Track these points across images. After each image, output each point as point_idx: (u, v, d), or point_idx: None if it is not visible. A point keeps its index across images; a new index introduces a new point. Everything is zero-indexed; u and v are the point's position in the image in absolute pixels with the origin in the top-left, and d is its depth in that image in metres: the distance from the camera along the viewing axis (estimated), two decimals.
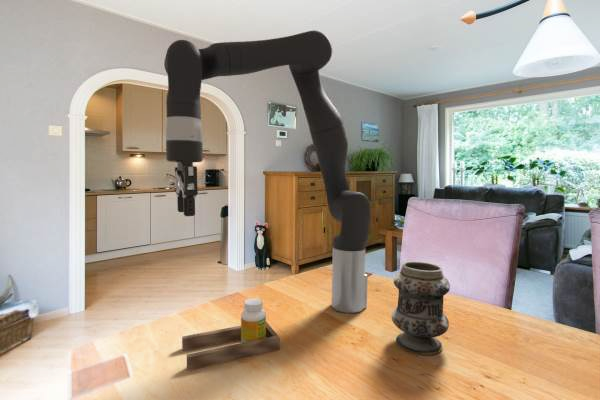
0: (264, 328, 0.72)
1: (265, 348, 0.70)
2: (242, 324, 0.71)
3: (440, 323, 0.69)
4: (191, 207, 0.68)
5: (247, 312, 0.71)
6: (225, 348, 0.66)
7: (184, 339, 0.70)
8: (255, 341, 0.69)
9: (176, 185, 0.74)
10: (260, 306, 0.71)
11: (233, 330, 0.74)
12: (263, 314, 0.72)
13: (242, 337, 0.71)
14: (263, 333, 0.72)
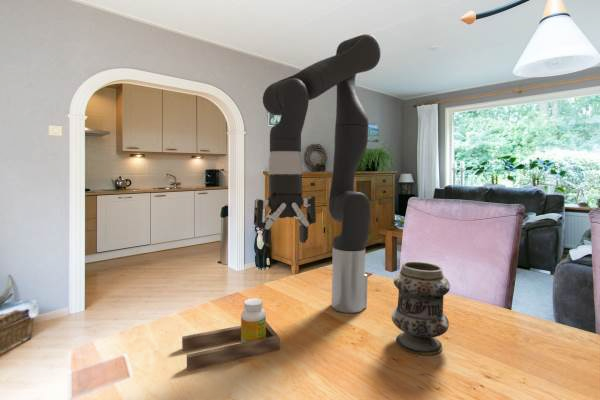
0: (264, 328, 0.72)
1: (265, 348, 0.70)
2: (242, 324, 0.71)
3: (440, 323, 0.69)
4: None
5: (247, 312, 0.71)
6: (225, 348, 0.66)
7: (184, 339, 0.70)
8: (255, 341, 0.69)
9: None
10: (260, 306, 0.71)
11: (233, 330, 0.74)
12: (263, 314, 0.72)
13: (242, 337, 0.71)
14: (263, 333, 0.72)
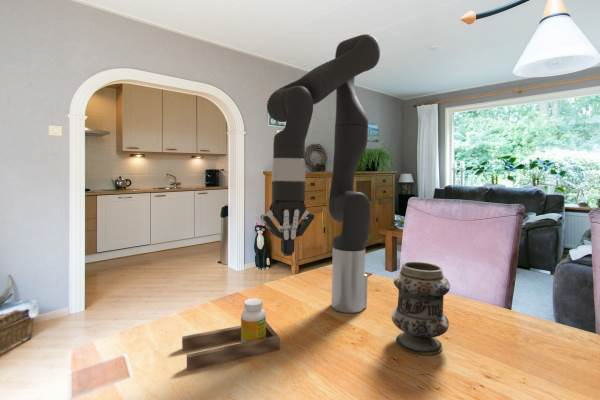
0: (264, 328, 0.72)
1: (265, 348, 0.70)
2: (242, 324, 0.71)
3: (440, 323, 0.69)
4: None
5: (247, 312, 0.71)
6: (225, 348, 0.66)
7: (184, 339, 0.70)
8: (255, 341, 0.69)
9: None
10: (260, 306, 0.71)
11: (233, 330, 0.74)
12: (263, 314, 0.72)
13: (242, 337, 0.71)
14: (263, 333, 0.72)
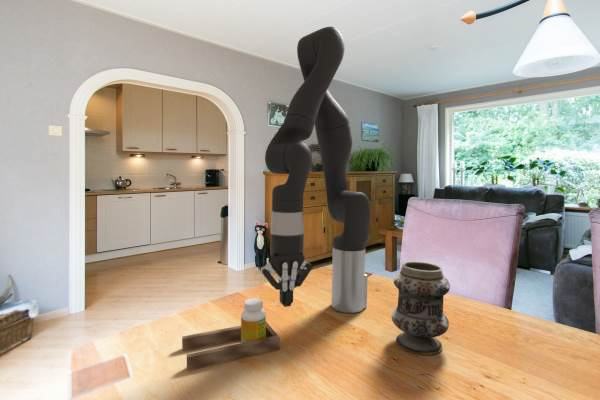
0: (264, 328, 0.72)
1: (265, 348, 0.70)
2: (242, 324, 0.71)
3: (440, 323, 0.69)
4: None
5: (247, 312, 0.71)
6: (225, 348, 0.66)
7: (184, 339, 0.70)
8: (255, 341, 0.69)
9: None
10: (260, 306, 0.71)
11: (233, 330, 0.74)
12: (263, 314, 0.72)
13: (242, 337, 0.71)
14: (263, 333, 0.72)
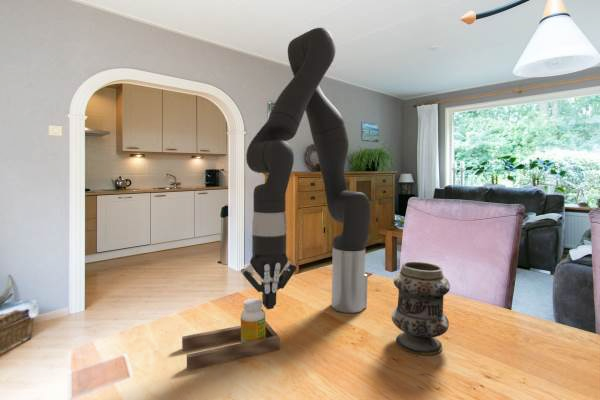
0: (264, 328, 0.72)
1: (265, 348, 0.70)
2: (242, 324, 0.71)
3: (440, 323, 0.69)
4: None
5: (246, 312, 0.71)
6: (225, 348, 0.66)
7: (184, 339, 0.70)
8: (255, 341, 0.69)
9: (269, 279, 0.72)
10: (259, 306, 0.71)
11: (233, 330, 0.74)
12: (263, 314, 0.72)
13: (242, 337, 0.71)
14: (262, 333, 0.72)
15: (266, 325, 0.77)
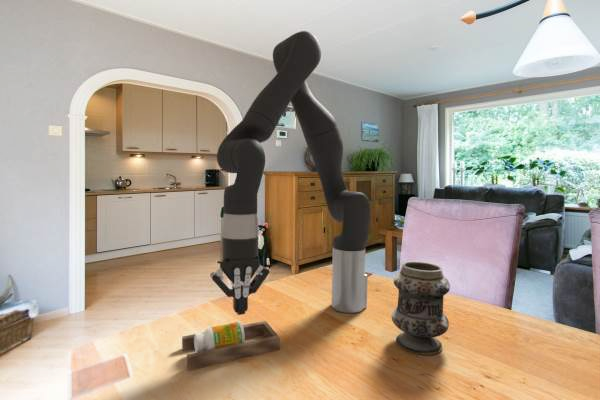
0: (225, 332, 0.68)
1: (265, 348, 0.70)
2: None
3: (440, 323, 0.69)
4: None
5: None
6: (225, 348, 0.66)
7: (184, 339, 0.70)
8: (255, 341, 0.69)
9: None
10: (200, 341, 0.66)
11: None
12: (209, 336, 0.67)
13: None
14: (229, 334, 0.68)
15: (266, 325, 0.77)
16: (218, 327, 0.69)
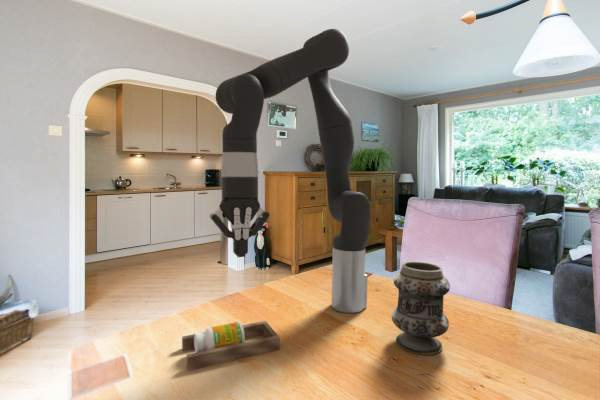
0: (225, 331, 0.69)
1: (265, 348, 0.70)
2: None
3: (440, 323, 0.69)
4: None
5: None
6: (225, 348, 0.66)
7: (184, 339, 0.70)
8: (255, 341, 0.69)
9: (239, 224, 0.68)
10: (200, 341, 0.66)
11: None
12: (209, 336, 0.67)
13: None
14: (229, 334, 0.69)
15: (266, 325, 0.77)
16: (218, 327, 0.69)
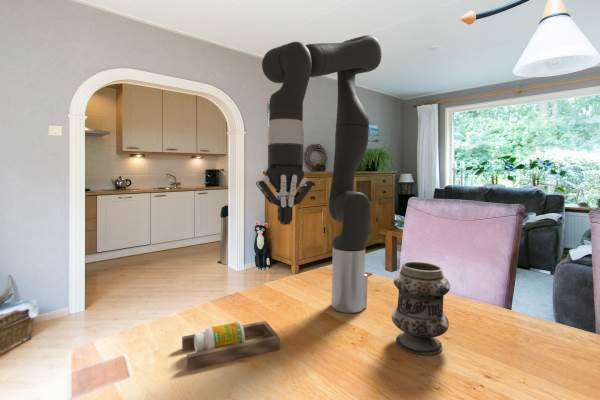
0: (225, 331, 0.69)
1: (265, 348, 0.70)
2: None
3: (440, 323, 0.69)
4: None
5: None
6: (225, 348, 0.66)
7: (184, 339, 0.70)
8: (255, 341, 0.69)
9: None
10: (200, 341, 0.66)
11: None
12: (209, 336, 0.67)
13: None
14: (229, 334, 0.69)
15: (266, 325, 0.77)
16: (218, 327, 0.69)
